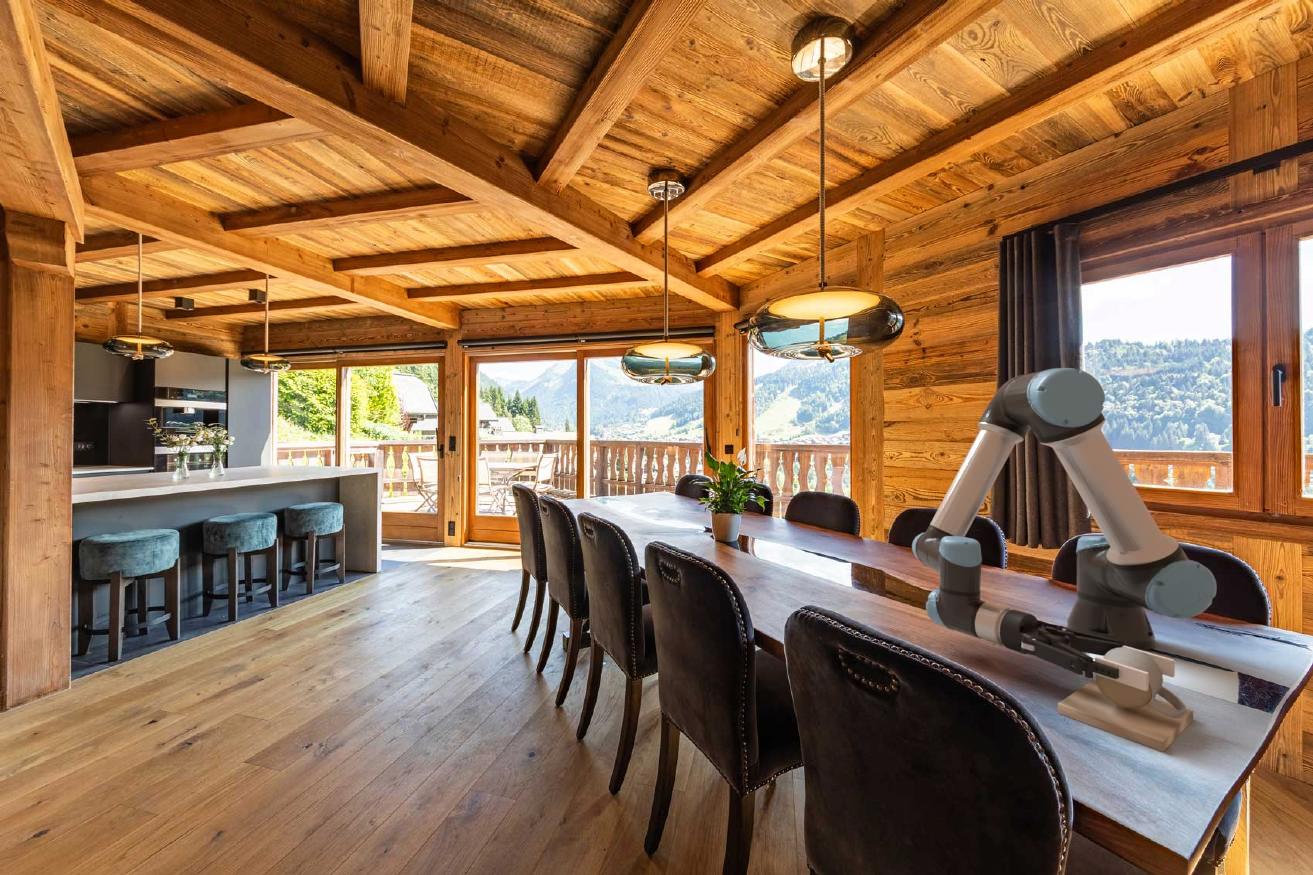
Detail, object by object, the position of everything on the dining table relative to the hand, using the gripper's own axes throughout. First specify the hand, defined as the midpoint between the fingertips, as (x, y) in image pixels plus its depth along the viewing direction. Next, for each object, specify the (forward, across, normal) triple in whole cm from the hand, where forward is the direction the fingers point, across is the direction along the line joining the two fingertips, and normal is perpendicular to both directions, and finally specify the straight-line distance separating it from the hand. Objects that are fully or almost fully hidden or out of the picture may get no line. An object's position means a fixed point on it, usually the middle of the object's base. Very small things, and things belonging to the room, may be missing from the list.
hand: (1160, 675), depth 83 cm
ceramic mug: (-3, -1, -6) cm, 7 cm away
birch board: (-4, 0, -9) cm, 10 cm away
